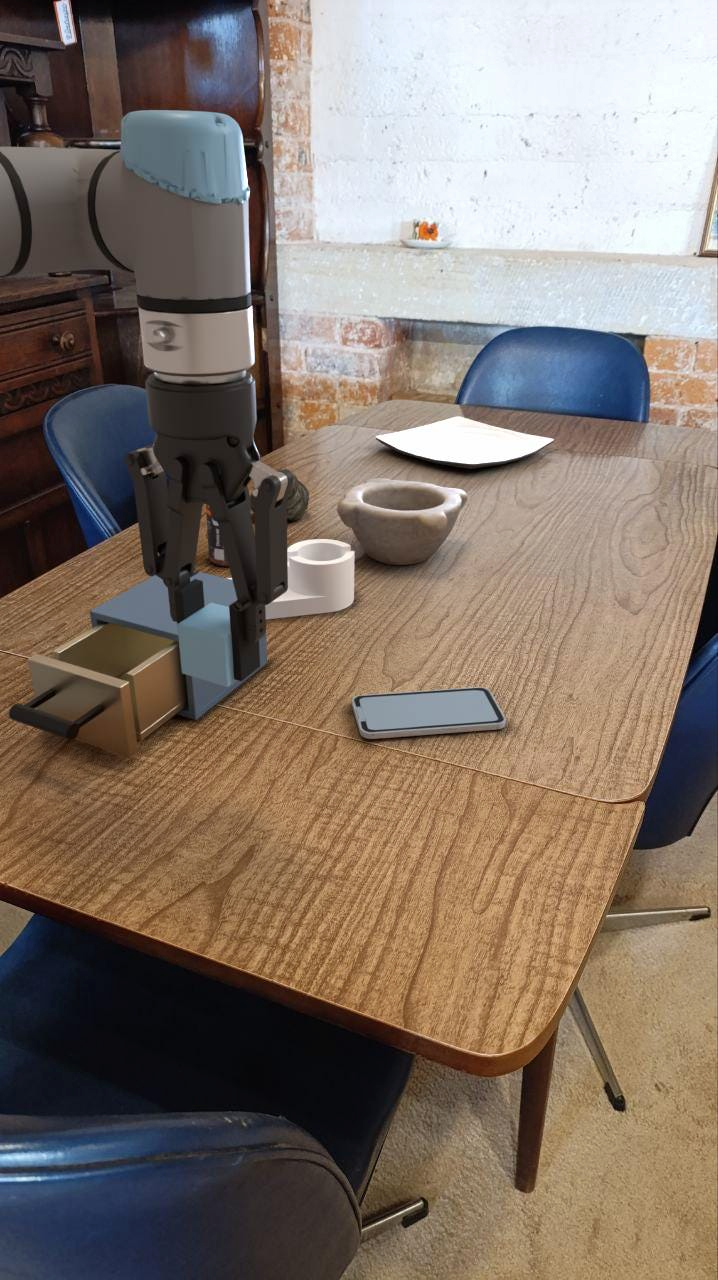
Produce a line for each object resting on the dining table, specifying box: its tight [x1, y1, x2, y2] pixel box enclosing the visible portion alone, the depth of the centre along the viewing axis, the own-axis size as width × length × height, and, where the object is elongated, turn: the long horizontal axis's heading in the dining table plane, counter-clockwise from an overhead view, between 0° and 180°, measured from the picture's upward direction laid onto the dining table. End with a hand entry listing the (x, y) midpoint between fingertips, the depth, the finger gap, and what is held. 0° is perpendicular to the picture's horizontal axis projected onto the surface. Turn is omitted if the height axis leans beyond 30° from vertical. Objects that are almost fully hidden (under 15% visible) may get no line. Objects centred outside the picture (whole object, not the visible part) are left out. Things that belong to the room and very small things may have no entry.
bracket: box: [226, 538, 355, 621], centre depth 113 cm, size 20×9×7 cm, turn 105°
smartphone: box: [351, 686, 507, 740], centre depth 90 cm, size 7×1×15 cm
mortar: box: [336, 477, 469, 566], centre depth 128 cm, size 17×17×9 cm
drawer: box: [8, 621, 188, 759], centre depth 86 cm, size 18×11×8 cm, turn 153°
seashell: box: [250, 469, 310, 522], centre depth 142 cm, size 11×12×10 cm
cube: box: [178, 603, 236, 687], centre depth 71 cm, size 4×4×4 cm
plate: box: [375, 416, 555, 469], centre depth 178 cm, size 29×29×3 cm
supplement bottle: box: [205, 502, 231, 567], centre depth 125 cm, size 6×6×11 cm
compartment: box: [89, 571, 268, 721], centre depth 95 cm, size 14×13×10 cm
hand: (220, 664), depth 71 cm, fingers closed on cube, 4 cm apart
